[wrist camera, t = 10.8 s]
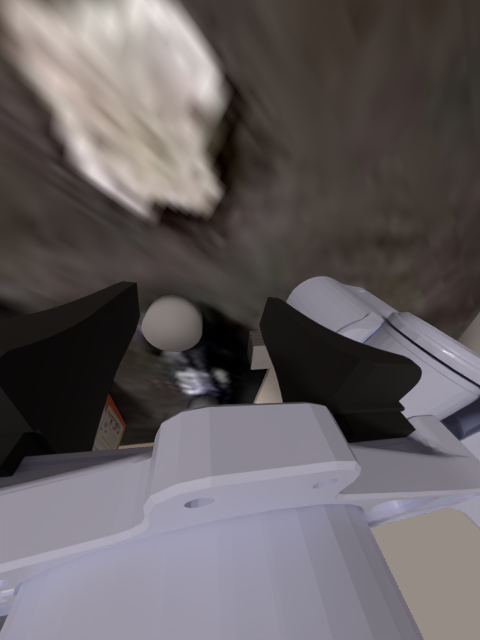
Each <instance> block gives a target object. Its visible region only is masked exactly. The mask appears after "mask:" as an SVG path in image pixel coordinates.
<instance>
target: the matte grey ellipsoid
mask: <svg viewBox="0 0 480 640" xmlns="http://www.w3.org/2000/svg"><path fill="white" fill-rule="evenodd" d="M202 322H203V317H202V312H201V310H200V308H199V307H198V306H197V304H196V303H194V302H193V301H192V300H190V299H188V298H186V297H184V296H180V295H165V296H162V297H160V298H158V299H156V300H155V301H154V302H153V303H152V304H151V305H150V307H149V309H148V311H147V313H146V315H145V317H144V319H143V322H142V332H143V334H144V336H145V338H146V339H147V341H148V342H149V343H151V344H152V345H153V346H155V347H157V348H159V349H161V350H165V351H170V352H179V351H184V350H187V349H190V348H191V347H193V346H194V345H196V344H197V343H198V341H199V340H200V338H201V336H202Z"/></svg>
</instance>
